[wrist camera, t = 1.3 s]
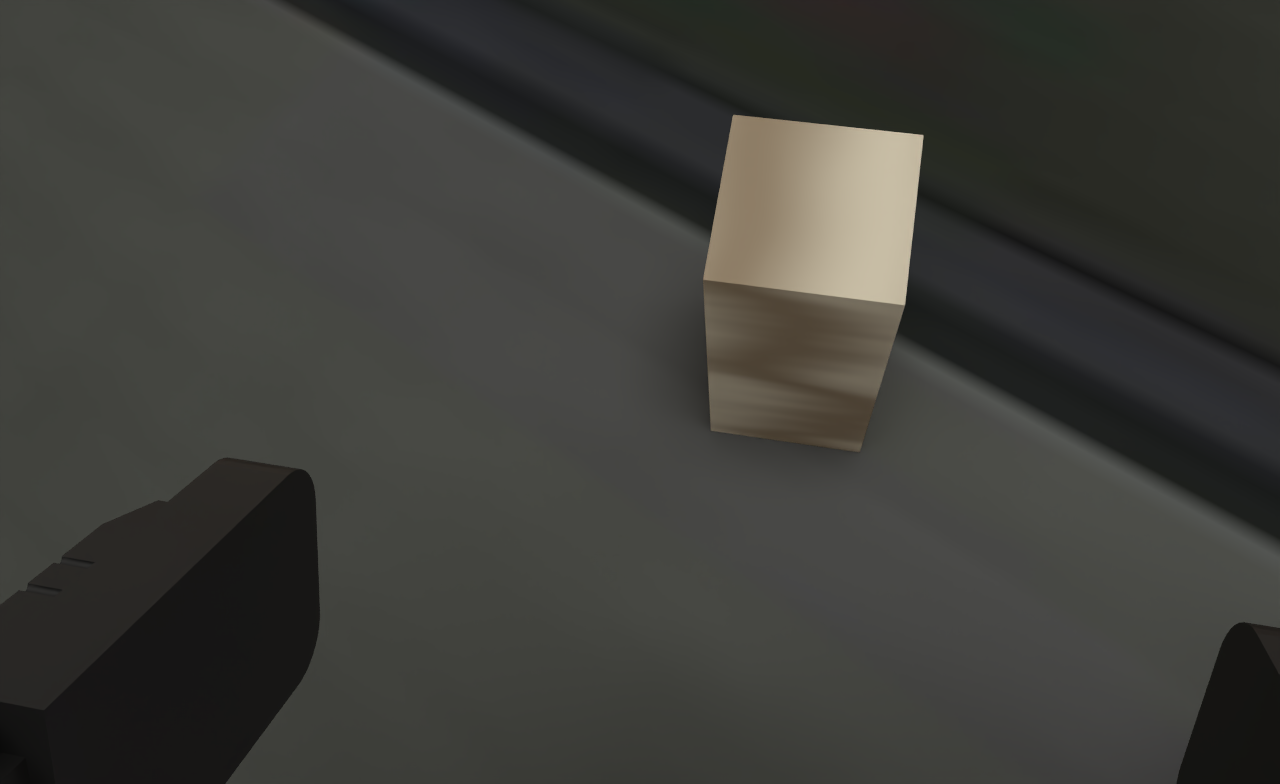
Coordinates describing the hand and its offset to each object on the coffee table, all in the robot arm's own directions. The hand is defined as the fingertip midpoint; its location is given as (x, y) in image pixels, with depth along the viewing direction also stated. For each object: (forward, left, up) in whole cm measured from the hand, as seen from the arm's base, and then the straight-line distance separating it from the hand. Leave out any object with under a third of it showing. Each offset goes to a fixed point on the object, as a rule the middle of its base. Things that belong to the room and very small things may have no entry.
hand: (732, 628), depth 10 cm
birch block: (0, -13, -23) cm, 26 cm away
